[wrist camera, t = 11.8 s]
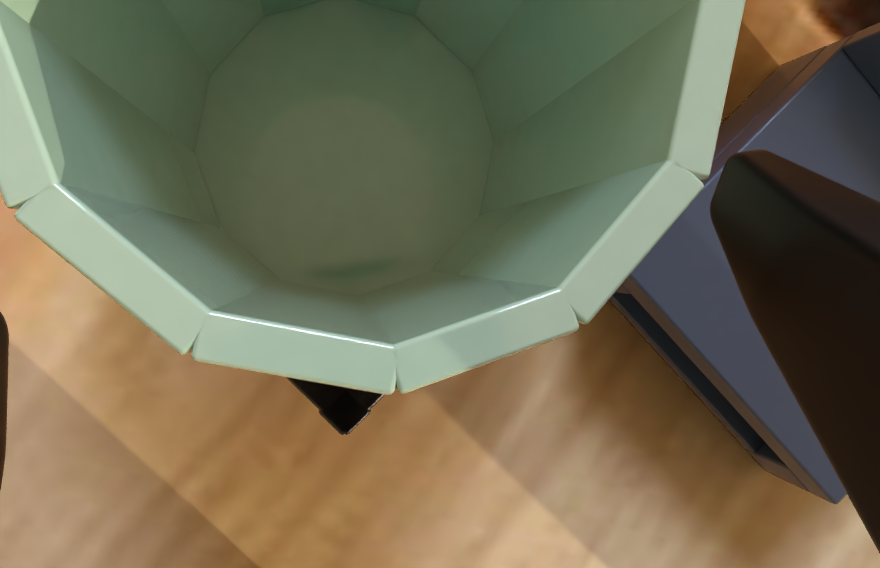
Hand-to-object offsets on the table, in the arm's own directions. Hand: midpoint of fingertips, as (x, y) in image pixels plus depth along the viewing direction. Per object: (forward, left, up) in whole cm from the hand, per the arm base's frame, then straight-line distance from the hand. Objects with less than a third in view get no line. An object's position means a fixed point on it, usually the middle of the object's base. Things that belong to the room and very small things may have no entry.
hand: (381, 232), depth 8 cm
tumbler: (+1, +1, -5) cm, 5 cm away
